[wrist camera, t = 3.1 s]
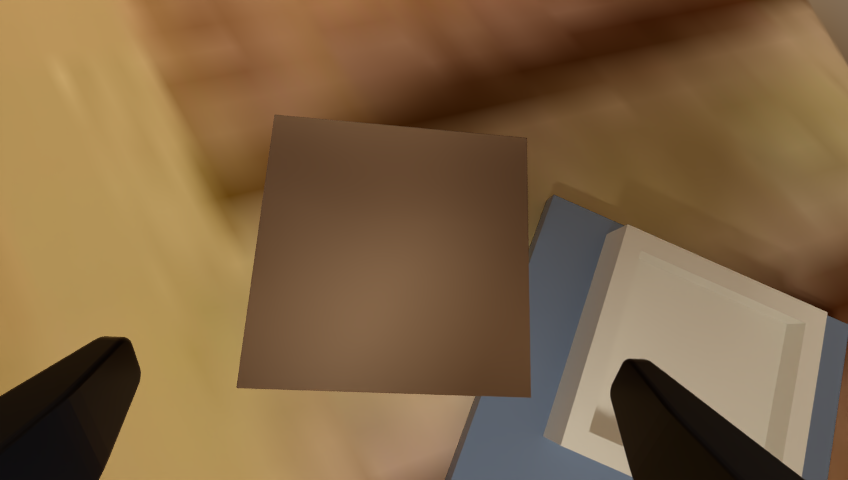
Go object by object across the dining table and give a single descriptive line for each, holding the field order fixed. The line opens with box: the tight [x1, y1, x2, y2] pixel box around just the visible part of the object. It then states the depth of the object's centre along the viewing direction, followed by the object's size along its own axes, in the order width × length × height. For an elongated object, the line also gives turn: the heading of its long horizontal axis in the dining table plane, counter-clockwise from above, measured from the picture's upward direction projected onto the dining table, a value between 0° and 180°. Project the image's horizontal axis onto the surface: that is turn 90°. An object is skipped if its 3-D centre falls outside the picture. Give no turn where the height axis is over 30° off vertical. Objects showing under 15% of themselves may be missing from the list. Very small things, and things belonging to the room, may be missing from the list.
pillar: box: [237, 115, 531, 398], centre depth 13 cm, size 5×5×10 cm
